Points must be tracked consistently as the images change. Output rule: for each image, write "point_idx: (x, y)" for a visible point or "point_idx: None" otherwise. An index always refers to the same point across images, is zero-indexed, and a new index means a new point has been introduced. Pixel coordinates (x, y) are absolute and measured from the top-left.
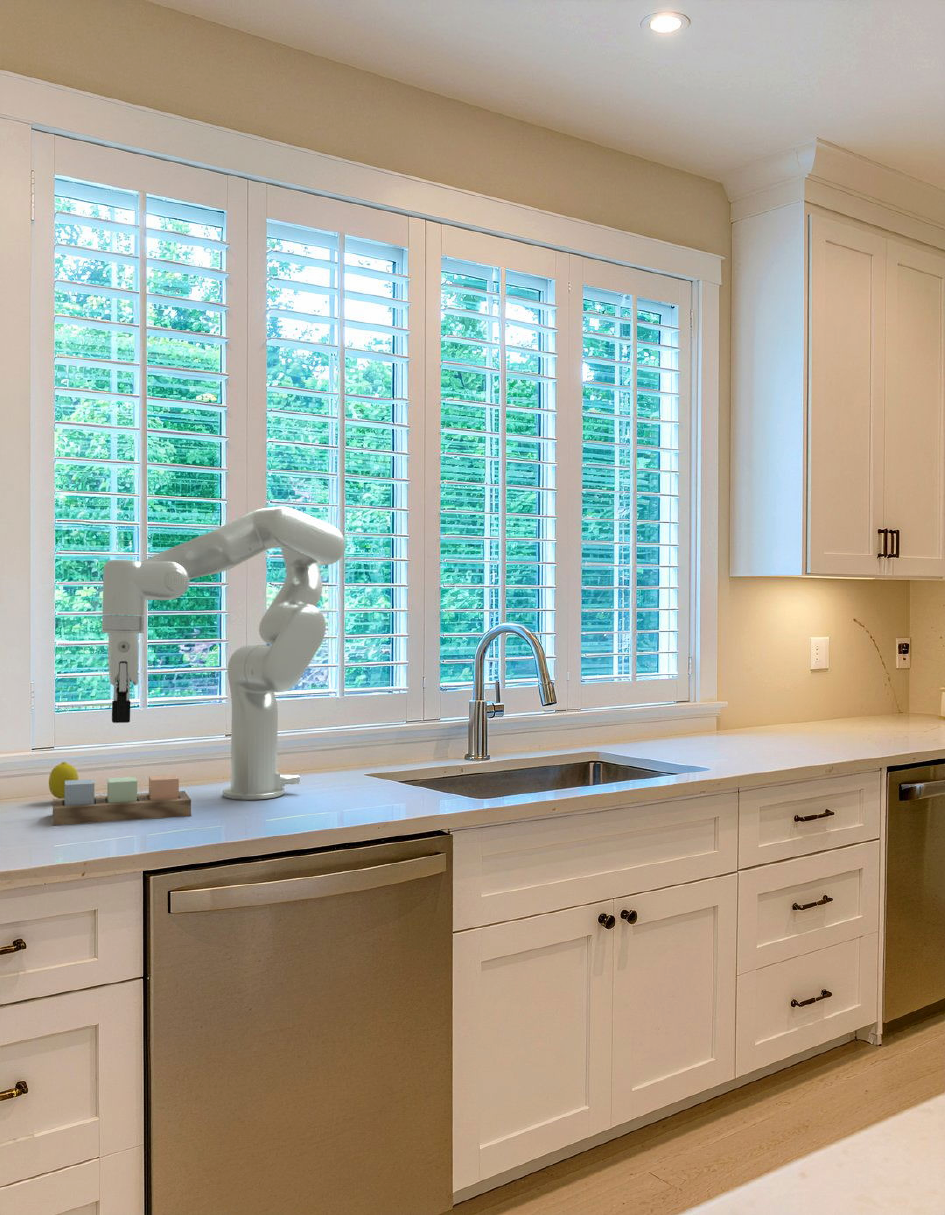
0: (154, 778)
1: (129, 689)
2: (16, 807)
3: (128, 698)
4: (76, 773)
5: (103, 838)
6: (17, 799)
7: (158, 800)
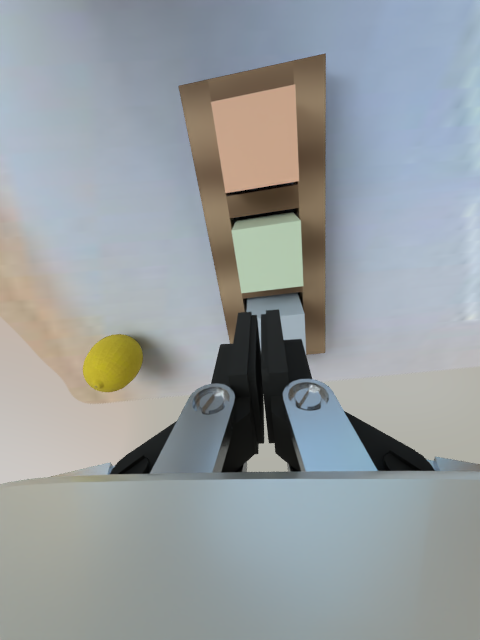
0: (270, 173)
1: (374, 466)
2: (171, 390)
3: (333, 400)
4: (106, 352)
5: (461, 256)
6: (112, 395)
7: (305, 159)
